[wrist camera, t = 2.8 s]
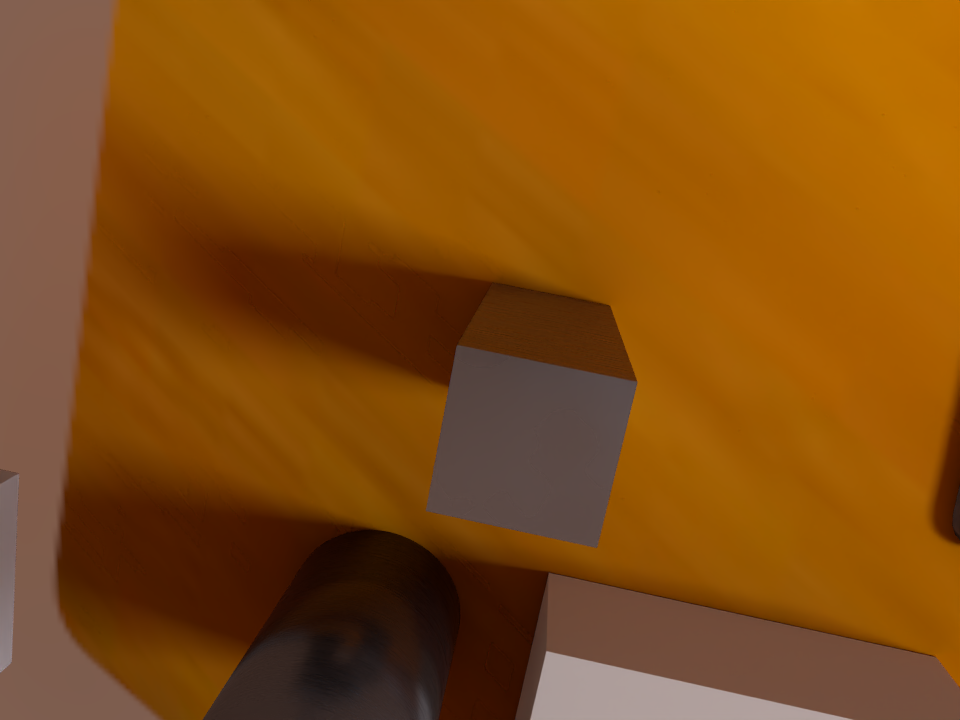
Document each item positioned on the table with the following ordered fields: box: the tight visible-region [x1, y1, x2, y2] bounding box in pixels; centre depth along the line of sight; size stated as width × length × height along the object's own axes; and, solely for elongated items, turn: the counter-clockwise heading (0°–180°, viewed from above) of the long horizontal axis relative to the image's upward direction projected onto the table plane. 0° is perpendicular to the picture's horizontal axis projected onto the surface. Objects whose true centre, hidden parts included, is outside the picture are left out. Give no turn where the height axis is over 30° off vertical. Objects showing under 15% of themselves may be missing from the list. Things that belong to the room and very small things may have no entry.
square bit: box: [426, 282, 637, 548], centre depth 23 cm, size 4×4×10 cm
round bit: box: [203, 530, 460, 720], centre depth 26 cm, size 6×6×10 cm
